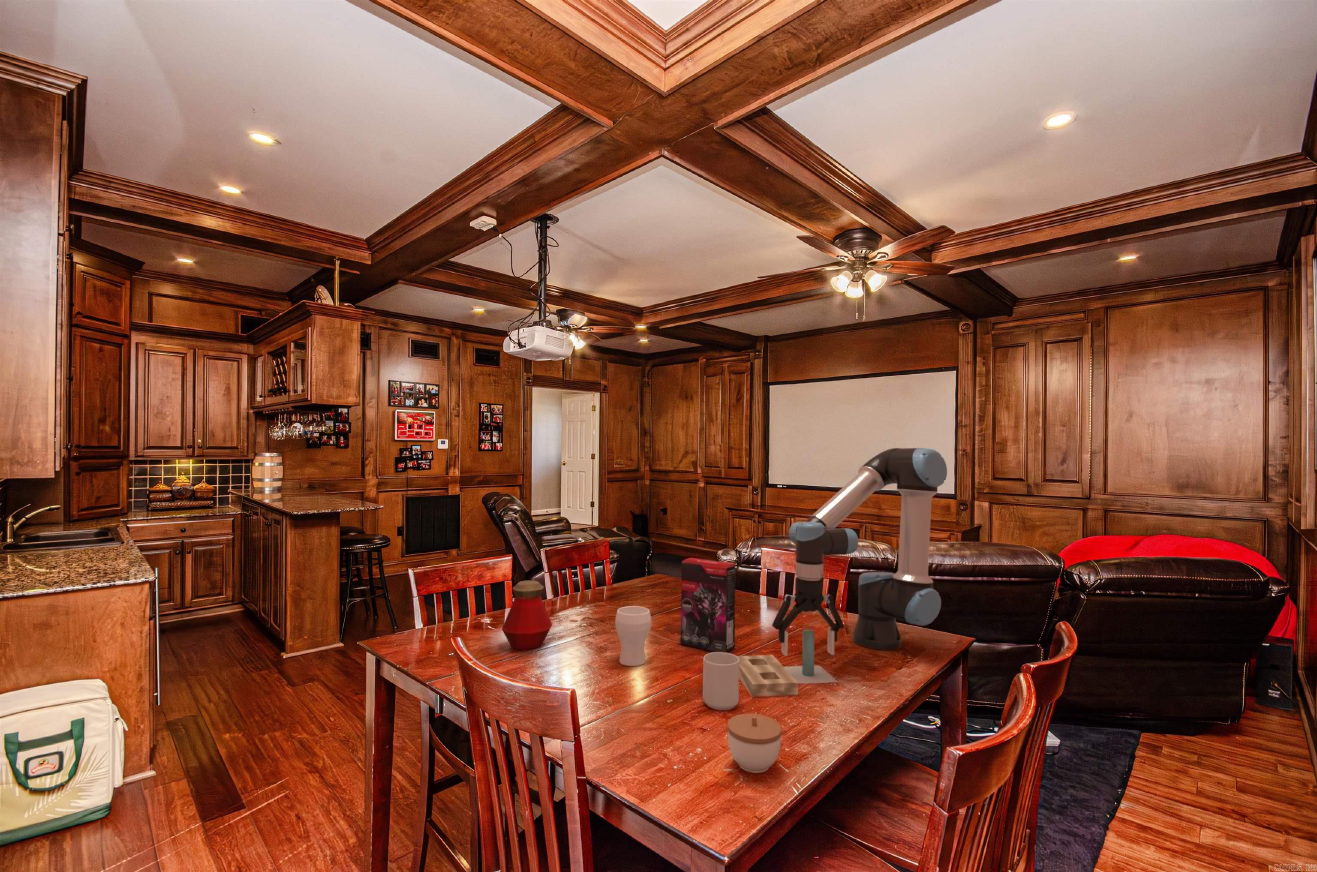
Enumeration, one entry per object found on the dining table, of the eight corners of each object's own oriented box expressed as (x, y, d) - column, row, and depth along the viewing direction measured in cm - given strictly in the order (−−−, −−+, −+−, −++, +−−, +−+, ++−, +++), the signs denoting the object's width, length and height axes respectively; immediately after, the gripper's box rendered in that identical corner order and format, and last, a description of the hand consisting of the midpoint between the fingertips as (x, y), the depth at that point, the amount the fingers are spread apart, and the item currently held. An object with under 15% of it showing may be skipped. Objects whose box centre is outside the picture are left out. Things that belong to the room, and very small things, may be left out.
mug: (732, 714, 136) (733, 667, 137) (697, 707, 140) (698, 661, 140) (746, 695, 147) (746, 651, 148) (713, 688, 151) (713, 646, 151)
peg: (811, 671, 163) (811, 629, 163) (815, 676, 160) (816, 632, 160) (800, 672, 162) (801, 629, 163) (804, 676, 159) (805, 633, 160)
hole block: (772, 667, 167) (772, 654, 167) (798, 696, 147) (798, 682, 147) (732, 668, 165) (732, 656, 165) (752, 698, 146) (752, 684, 146)
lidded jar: (720, 772, 112) (721, 723, 112) (733, 746, 122) (734, 701, 122) (776, 785, 108) (776, 734, 108) (784, 756, 118) (785, 710, 118)
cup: (657, 661, 170) (658, 610, 170) (632, 671, 162) (633, 617, 162) (632, 652, 177) (633, 603, 177) (607, 661, 169) (608, 610, 170)
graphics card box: (678, 644, 185) (679, 559, 185) (689, 639, 191) (690, 556, 191) (726, 656, 175) (727, 566, 176) (736, 649, 181) (737, 563, 182)
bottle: (549, 636, 190) (550, 576, 191) (554, 650, 177) (556, 585, 178) (500, 641, 185) (501, 578, 186) (502, 655, 173) (504, 588, 173)
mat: (819, 666, 168) (819, 665, 168) (837, 683, 156) (837, 681, 156) (780, 668, 166) (780, 666, 166) (795, 684, 154) (795, 683, 154)
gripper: (845, 574, 167) (843, 648, 166) (762, 574, 164) (760, 649, 163) (857, 580, 160) (855, 657, 159) (770, 580, 156) (769, 659, 156)
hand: (807, 653), depth 161 cm, fingers open, 13 cm apart
